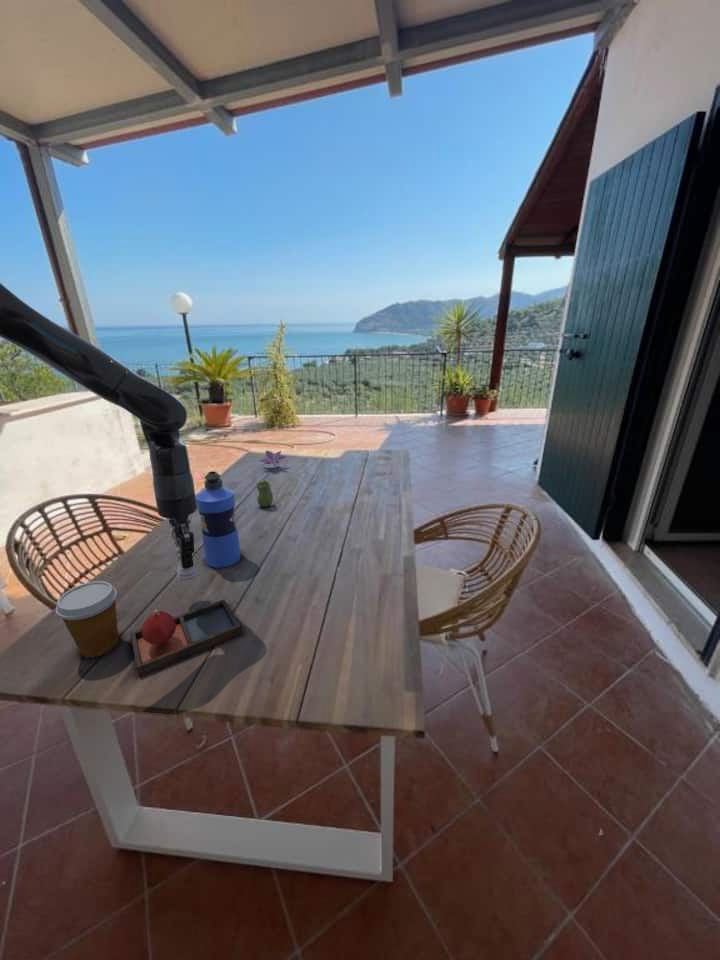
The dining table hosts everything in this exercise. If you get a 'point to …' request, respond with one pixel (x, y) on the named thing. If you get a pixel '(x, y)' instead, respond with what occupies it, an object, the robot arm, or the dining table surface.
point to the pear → (264, 493)
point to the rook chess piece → (186, 570)
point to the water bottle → (218, 523)
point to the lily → (272, 457)
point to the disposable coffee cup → (90, 617)
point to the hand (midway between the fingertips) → (186, 562)
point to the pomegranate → (158, 628)
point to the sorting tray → (187, 636)
